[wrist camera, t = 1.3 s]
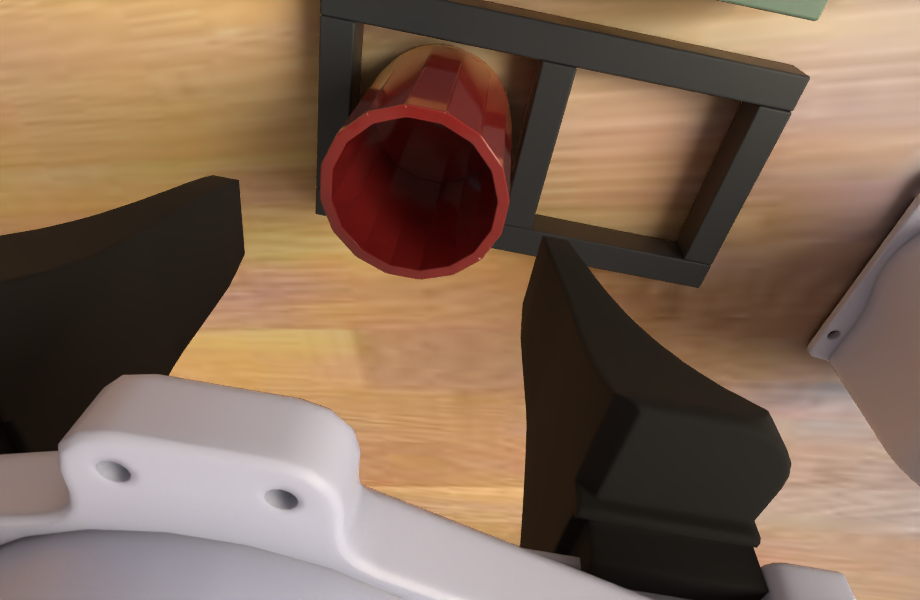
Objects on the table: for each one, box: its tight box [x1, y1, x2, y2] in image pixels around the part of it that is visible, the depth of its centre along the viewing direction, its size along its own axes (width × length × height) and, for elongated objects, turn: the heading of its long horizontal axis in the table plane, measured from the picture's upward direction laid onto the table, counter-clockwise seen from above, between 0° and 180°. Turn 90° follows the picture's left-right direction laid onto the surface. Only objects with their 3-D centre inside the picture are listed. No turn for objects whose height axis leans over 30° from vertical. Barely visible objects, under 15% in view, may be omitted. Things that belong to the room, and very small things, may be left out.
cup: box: [320, 44, 512, 279], centre depth 19 cm, size 6×6×7 cm
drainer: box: [316, 0, 810, 288], centre depth 22 cm, size 9×16×2 cm, turn 80°
